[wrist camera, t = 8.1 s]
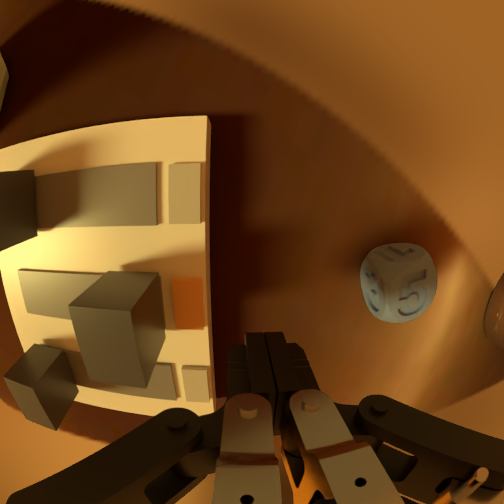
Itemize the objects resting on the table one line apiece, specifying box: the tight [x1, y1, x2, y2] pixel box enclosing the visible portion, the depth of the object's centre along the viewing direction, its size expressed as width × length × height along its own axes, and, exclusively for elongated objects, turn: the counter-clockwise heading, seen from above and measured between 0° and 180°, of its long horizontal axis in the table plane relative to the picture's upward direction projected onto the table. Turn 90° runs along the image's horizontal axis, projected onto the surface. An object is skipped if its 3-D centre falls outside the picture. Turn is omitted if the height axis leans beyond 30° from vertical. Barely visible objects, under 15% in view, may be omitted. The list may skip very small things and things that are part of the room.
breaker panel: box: [0, 116, 216, 416], centre depth 16 cm, size 16×20×3 cm
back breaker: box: [3, 343, 79, 431], centre depth 13 cm, size 3×4×4 cm
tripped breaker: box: [68, 271, 166, 389], centre depth 12 cm, size 3×4×4 cm
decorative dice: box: [360, 243, 437, 323], centre depth 16 cm, size 4×4×4 cm
